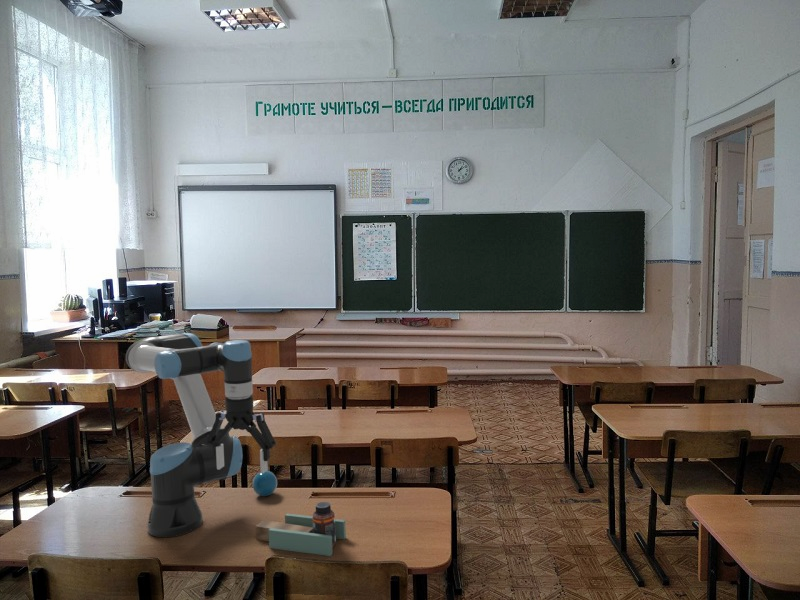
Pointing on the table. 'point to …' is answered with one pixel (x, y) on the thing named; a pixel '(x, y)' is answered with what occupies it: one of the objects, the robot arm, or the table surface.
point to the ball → (264, 483)
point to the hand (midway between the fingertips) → (242, 469)
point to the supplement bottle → (324, 520)
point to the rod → (265, 525)
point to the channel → (304, 536)
